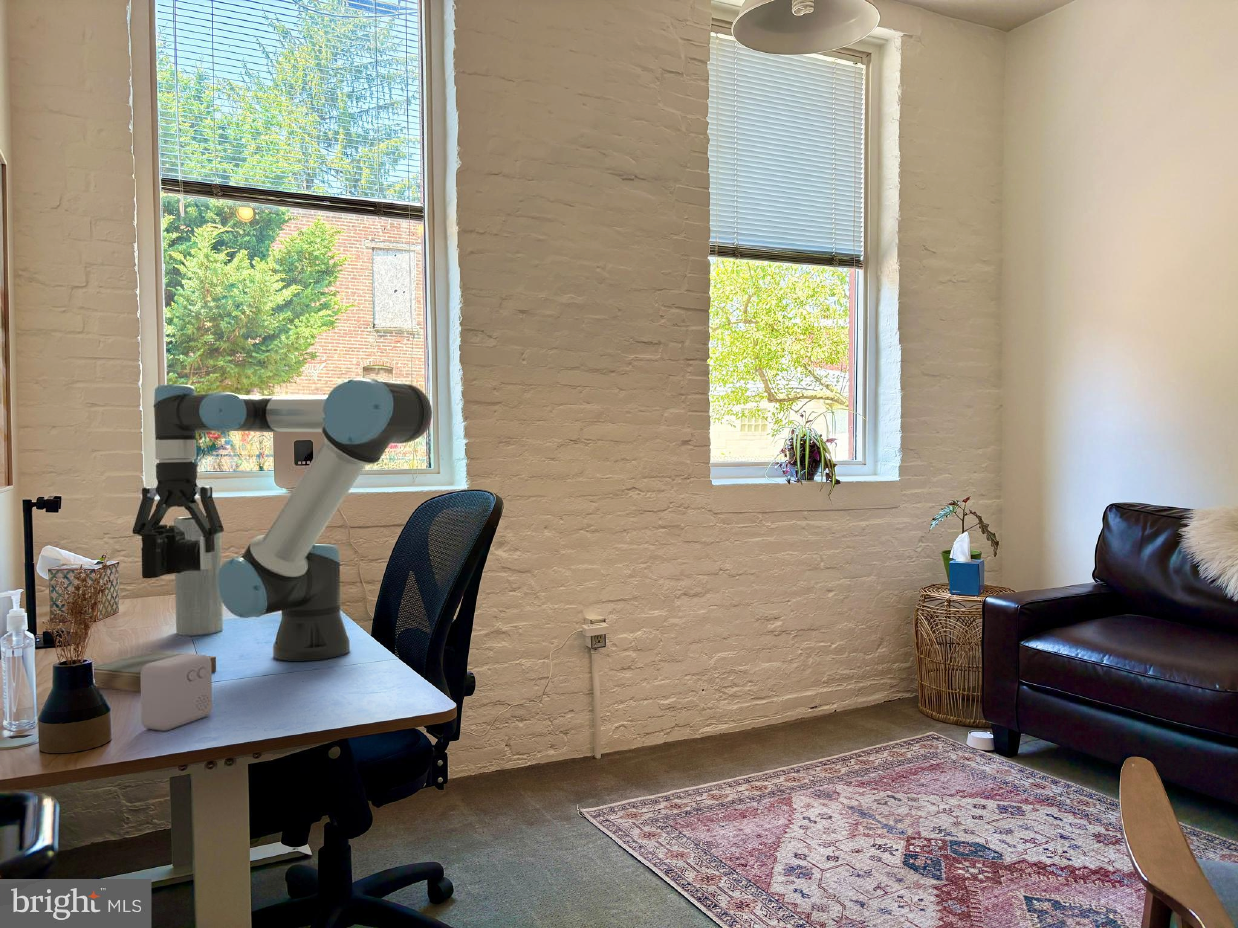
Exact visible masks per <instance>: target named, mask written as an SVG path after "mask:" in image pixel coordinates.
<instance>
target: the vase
mask: <svg viewBox="0 0 1238 928" xmlns="http://www.w3.org/2000/svg"><path fill="white" fill-rule="evenodd" d="M205 516H206V515H205ZM219 517H220V520H221V521H222V518H221V516H220V515H219ZM206 518H207V516H206ZM207 520H208V519H207ZM173 525H177V527H179V528H180V530H182V531H183V532H184V533H185V539H189V540H193V541H194V540H200V537H202V536H203V533H202V532H201V530H200V529H199V527H198V526H197V524H196V523H195V521H194V519H193V518H192V516H191V515H190V516H189V515H188V516H178V517H175V518H174V519H173ZM214 542H215V544H214V545H215V546H214V547H215V550H214V552H211V568H209V569H205V570H201V571H184V572H182V573H178V574H177V573H174V587H175V590H174V591H175V594H174V595H175V596H174V597H175V629H176V634H177V635H179V636H187V637H188V636H189V637H192V636H193V637H194V636H196V637H197V636H206V635H211V634H216V633H220V632H221V631H222V630H223V629H224V615H223V614H224V612H223V606H224V604H223V602H222V600H221V598H220V595H219V589H218V586H217V579H218V573H219V570H220V568H221V567H222V565H223V563H222V562H223V561H222V560H223V558H222V557H223V555H222V533H219V534H216V535H215V537H214Z"/></svg>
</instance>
